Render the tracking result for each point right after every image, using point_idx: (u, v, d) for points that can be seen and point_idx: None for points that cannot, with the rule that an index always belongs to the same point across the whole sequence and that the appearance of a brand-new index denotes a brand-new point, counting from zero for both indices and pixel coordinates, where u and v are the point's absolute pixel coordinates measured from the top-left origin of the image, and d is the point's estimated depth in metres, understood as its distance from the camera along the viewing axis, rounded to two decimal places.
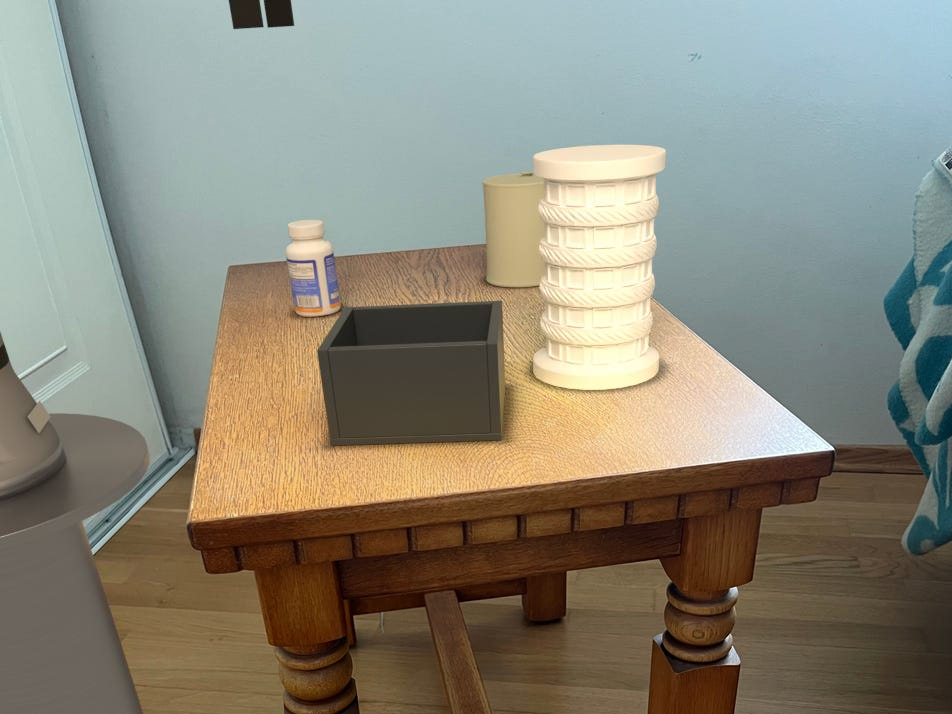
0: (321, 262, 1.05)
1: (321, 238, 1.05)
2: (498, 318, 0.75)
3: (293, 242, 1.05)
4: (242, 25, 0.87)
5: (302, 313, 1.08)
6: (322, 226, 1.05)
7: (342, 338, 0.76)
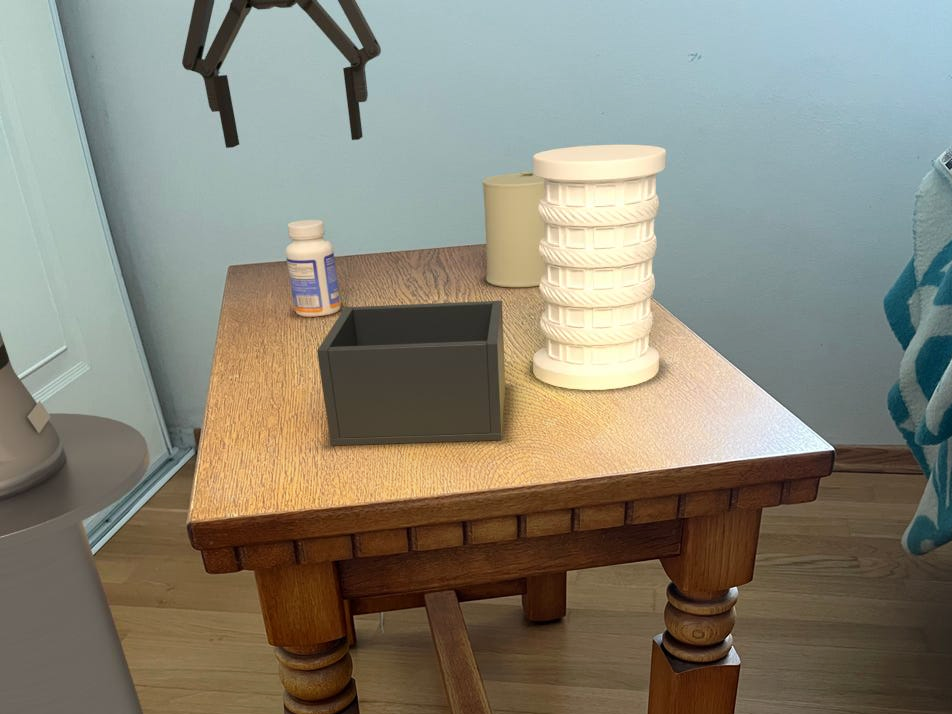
0: (321, 262, 1.05)
1: (321, 238, 1.05)
2: (498, 318, 0.75)
3: (293, 242, 1.05)
4: (360, 136, 1.00)
5: (302, 313, 1.08)
6: (322, 226, 1.05)
7: (342, 338, 0.76)
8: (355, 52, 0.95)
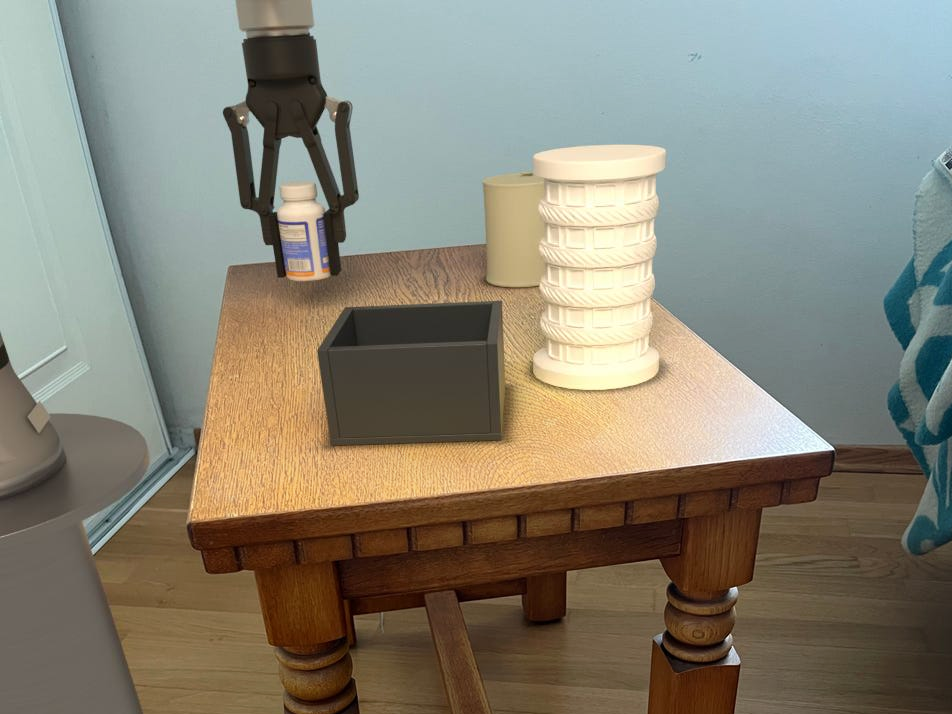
0: (313, 224, 1.03)
1: (313, 200, 1.03)
2: (498, 318, 0.75)
3: (285, 203, 1.03)
4: (338, 271, 1.07)
5: (293, 277, 1.06)
6: (315, 187, 1.02)
7: (342, 338, 0.76)
8: (337, 201, 1.02)
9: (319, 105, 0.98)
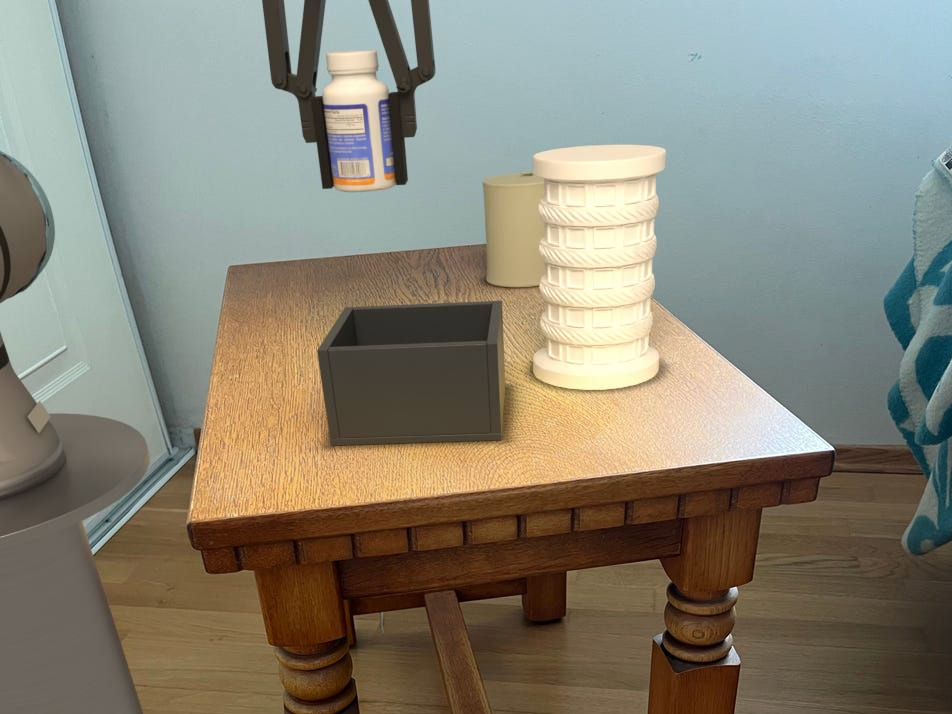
0: (374, 109, 0.74)
1: (374, 74, 0.74)
2: (498, 318, 0.75)
3: (334, 80, 0.73)
4: (406, 180, 0.78)
5: (345, 187, 0.77)
6: (376, 56, 0.73)
7: (342, 338, 0.76)
8: (407, 75, 0.73)
9: None
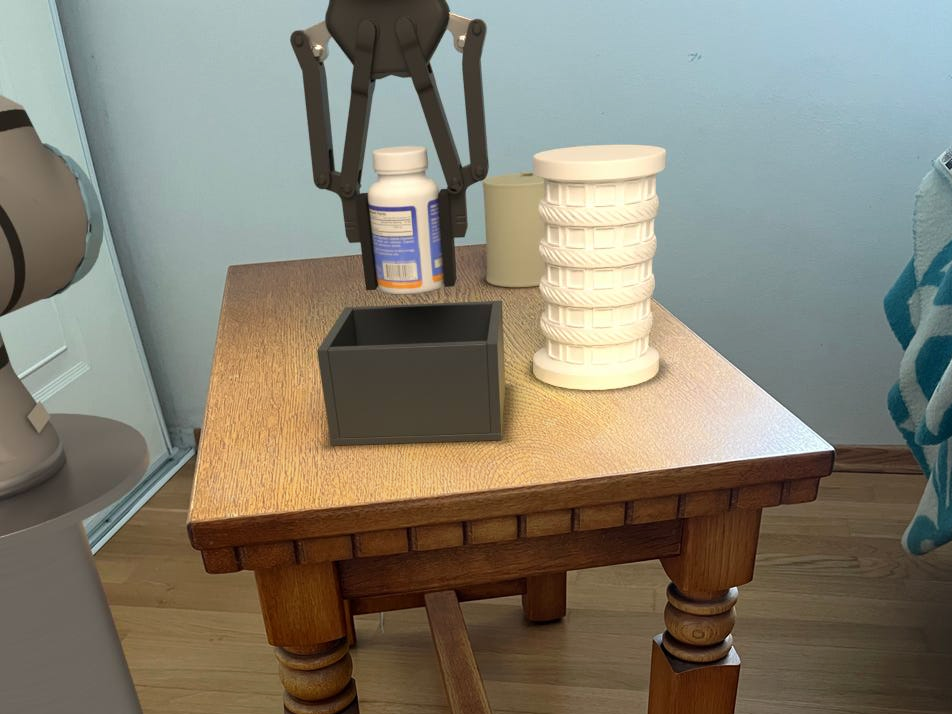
0: (423, 210, 0.69)
1: (423, 173, 0.69)
2: (498, 318, 0.75)
3: (381, 179, 0.68)
4: (455, 280, 0.73)
5: (390, 289, 0.72)
6: (426, 154, 0.68)
7: (342, 338, 0.76)
8: (459, 175, 0.68)
9: (439, 25, 0.63)
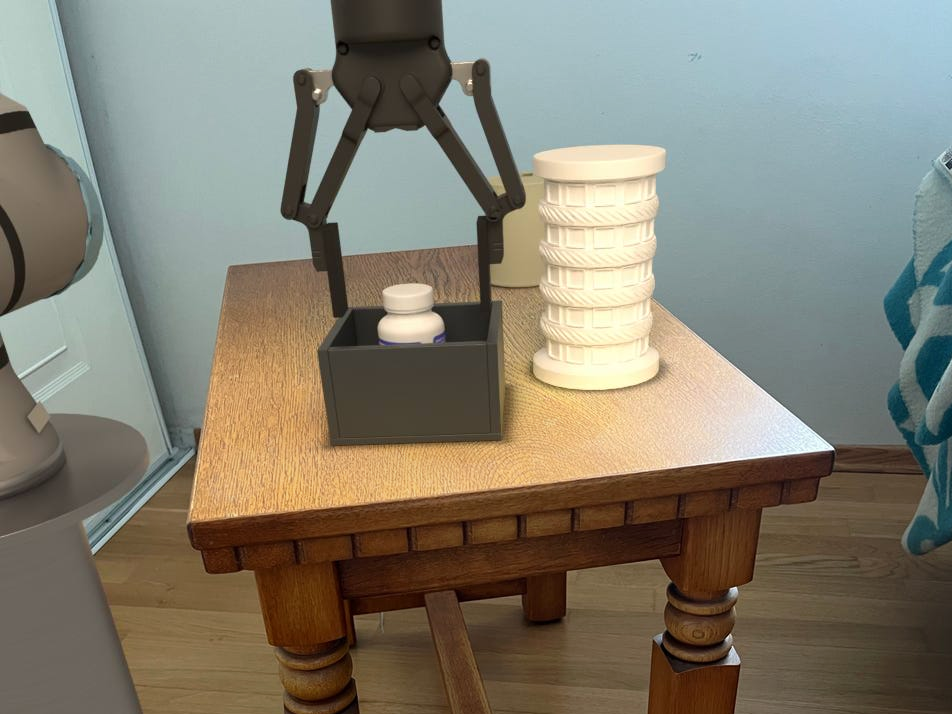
0: None
1: (429, 311, 0.74)
2: (498, 318, 0.75)
3: (390, 316, 0.74)
4: (490, 305, 0.74)
5: None
6: (432, 294, 0.73)
7: (342, 338, 0.76)
8: (495, 202, 0.69)
9: (445, 78, 0.65)
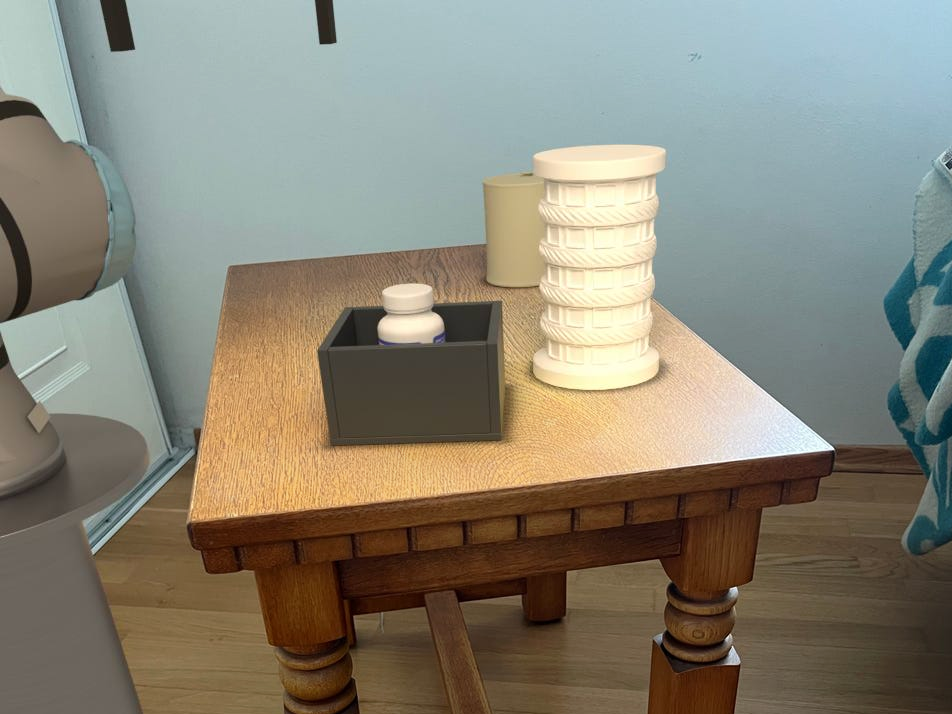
0: None
1: (429, 311, 0.74)
2: (498, 318, 0.75)
3: (390, 316, 0.74)
4: (332, 39, 0.61)
5: None
6: (432, 294, 0.73)
7: (342, 338, 0.76)
8: None
9: None
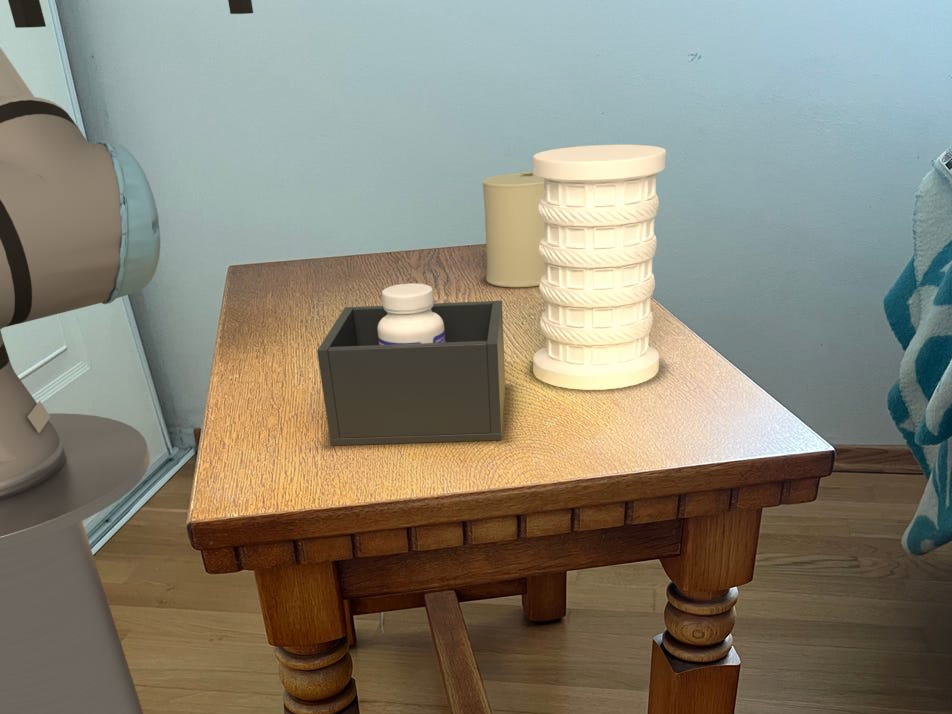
0: None
1: (429, 311, 0.74)
2: (498, 318, 0.75)
3: (389, 316, 0.74)
4: (245, 8, 0.58)
5: None
6: (431, 294, 0.73)
7: (342, 338, 0.76)
8: None
9: None
